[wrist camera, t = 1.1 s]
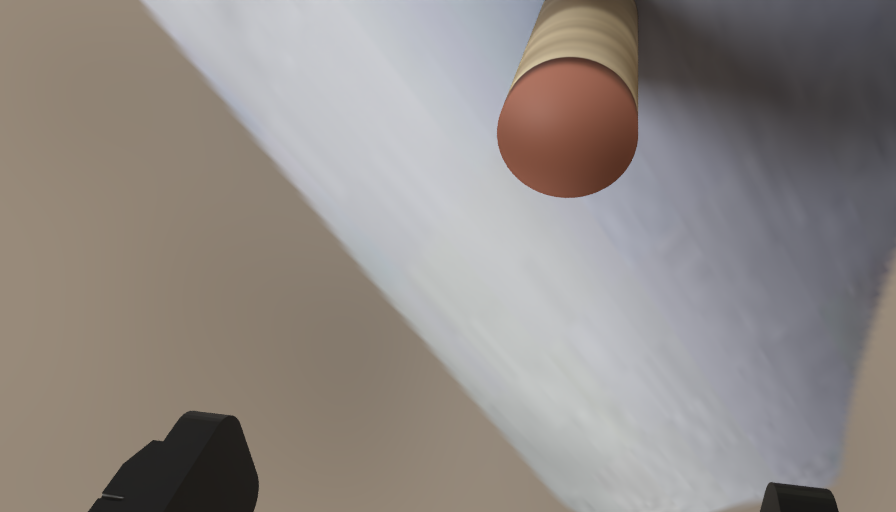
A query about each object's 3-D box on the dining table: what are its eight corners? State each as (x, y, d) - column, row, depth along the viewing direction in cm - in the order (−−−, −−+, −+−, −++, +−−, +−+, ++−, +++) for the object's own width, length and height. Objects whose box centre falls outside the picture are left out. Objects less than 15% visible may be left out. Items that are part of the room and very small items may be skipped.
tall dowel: (538, -26, 29) (494, 69, 20) (641, -30, 28) (643, 68, 19) (539, 71, 31) (499, 195, 22) (634, 70, 30) (633, 199, 21)
